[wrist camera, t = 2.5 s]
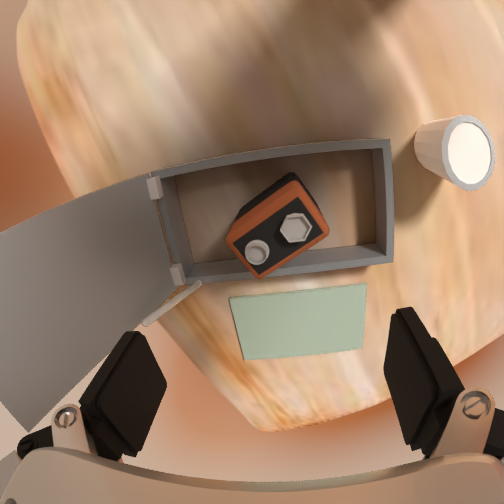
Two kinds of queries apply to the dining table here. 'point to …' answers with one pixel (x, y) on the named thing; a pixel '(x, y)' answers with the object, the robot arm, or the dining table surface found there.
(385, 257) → the case
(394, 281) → the dining table surface
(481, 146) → the shot glass
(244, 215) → the battery
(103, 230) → the case lid
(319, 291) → the rubber mat
